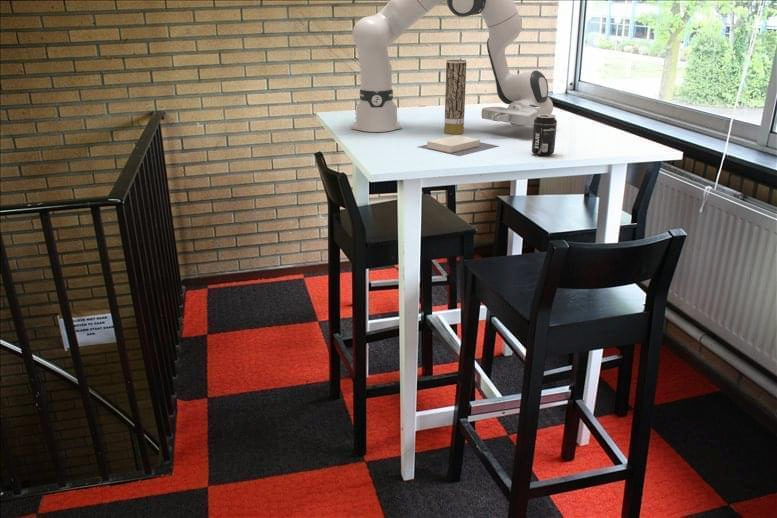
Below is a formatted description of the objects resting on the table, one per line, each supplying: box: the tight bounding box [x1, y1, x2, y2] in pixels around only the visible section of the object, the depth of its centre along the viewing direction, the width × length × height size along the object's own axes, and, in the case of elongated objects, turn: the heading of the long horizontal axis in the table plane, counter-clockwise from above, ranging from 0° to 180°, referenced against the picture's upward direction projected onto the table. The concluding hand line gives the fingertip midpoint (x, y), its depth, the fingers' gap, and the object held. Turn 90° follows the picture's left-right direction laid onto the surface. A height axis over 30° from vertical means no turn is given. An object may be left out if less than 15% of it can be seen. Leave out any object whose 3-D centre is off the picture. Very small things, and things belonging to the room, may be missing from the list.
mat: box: [417, 141, 500, 157], centre depth 213 cm, size 20×18×1 cm
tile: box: [426, 135, 481, 154], centre depth 211 cm, size 2×10×14 cm
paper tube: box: [443, 59, 467, 136], centre depth 228 cm, size 7×7×25 cm
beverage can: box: [531, 113, 558, 157], centre depth 201 cm, size 7×7×12 cm
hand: (494, 118), depth 221 cm, fingers closed
